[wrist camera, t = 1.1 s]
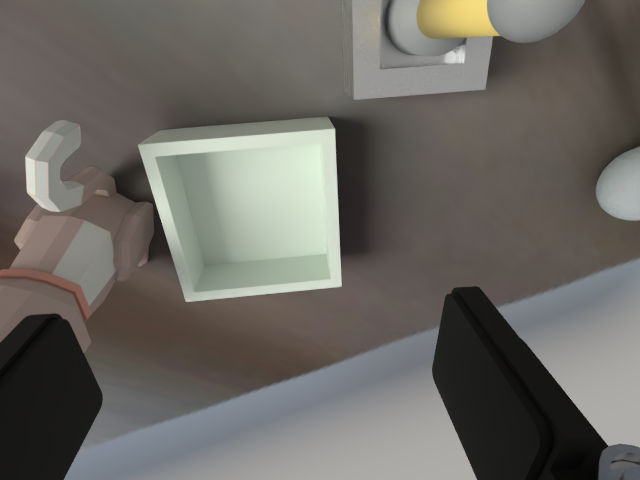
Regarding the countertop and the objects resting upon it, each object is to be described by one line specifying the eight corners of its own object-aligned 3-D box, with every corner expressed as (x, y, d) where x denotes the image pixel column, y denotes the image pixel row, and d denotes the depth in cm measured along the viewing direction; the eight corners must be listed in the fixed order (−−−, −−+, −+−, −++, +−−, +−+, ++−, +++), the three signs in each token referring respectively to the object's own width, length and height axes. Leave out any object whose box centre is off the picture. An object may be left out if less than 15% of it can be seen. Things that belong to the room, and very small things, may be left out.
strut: (385, -21, 25) (511, -108, 11) (454, -26, 25) (663, -116, 11) (384, 57, 27) (486, 69, 13) (446, 52, 27) (612, 59, 13)
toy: (56, 264, 37) (-149, 456, 20) (59, 86, 30) (-273, 143, 12) (147, 283, 39) (33, 474, 22) (172, 121, 32) (28, 216, 14)
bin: (160, 129, 32) (137, 144, 27) (327, 116, 32) (334, 128, 28) (198, 270, 39) (186, 301, 34) (335, 257, 40) (341, 286, 35)
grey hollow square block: (339, -53, 27) (351, -75, 22) (470, -61, 27) (510, -84, 22) (343, 91, 31) (353, 99, 27) (454, 82, 32) (485, 89, 27)
